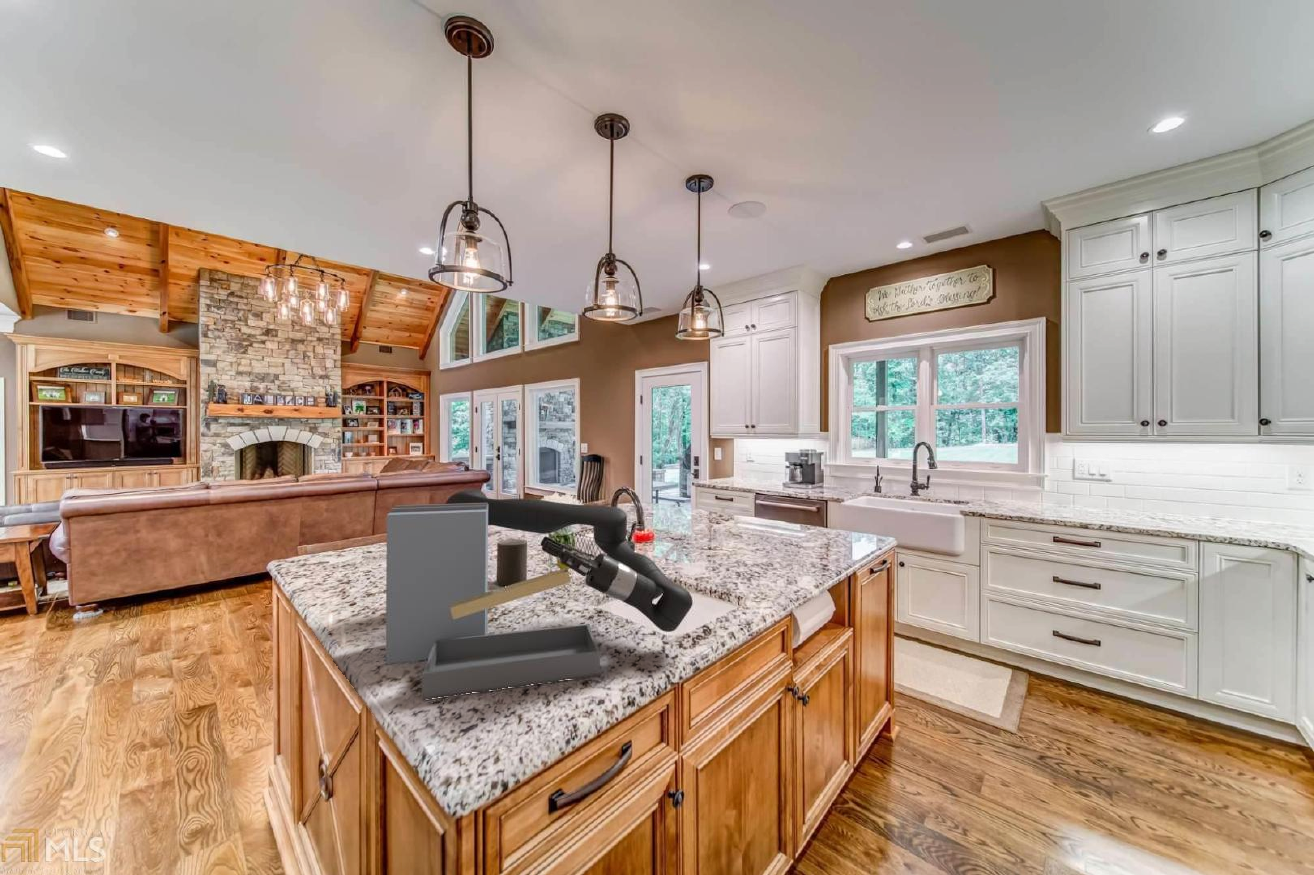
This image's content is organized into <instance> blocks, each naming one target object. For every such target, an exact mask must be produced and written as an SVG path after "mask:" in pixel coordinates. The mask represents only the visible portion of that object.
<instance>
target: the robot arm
mask: <svg viewBox="0 0 1314 875" xmlns="http://www.w3.org/2000/svg"><path fill="white" fill-rule="evenodd" d="M464 503H488V526H495V527H501V528H505V529H509V530H516V531H522V532H527V533H534V534H541V535H543V534H545V535H548V534H552V533H555V532H558V531H560V530H562V529H564V528H567V527H570V526H574V525H581V526H591V527H593V528H592V529H593V540H594V542H595V545H597V547H598V548H599V549H600V550H601V551H602V552H603V553H599V554H597V555H596V556H595V558H594V559H592V557H591V556H590V554H589V553H587V552H586V551H582V550H581V549H579V548H576V547H574V546H572V545H569V544H567V543H565V542H563V541H562V542H558V541H556V540H554V539H552V538H551V537H549V536H544V537H543V538H542V540H541V542H540V546H541V550H542V552H545V553H546V554H548V555H550V556H552V557H554V558H556V559H558V560H559V561H561V563H562V564H563V565H566V566H567V567H569V568H570V570H573V571H575V572H576V573H577V574H579V575H581V576H582V577H585V578H584V579H585V581H584V582H585V584H586V586H588V587H590V588H592V589H595V590H596V591H597V592H600V593H602V594H604V595H606V596H609V597H610V598H611V599H612V598H613V599H615V600H617V601H620V602H623V603H625V604H627V605H629V606H631V607H633V608H635V609H636V610H638V612H640V613H642V615H644V616H645V617H646V618H648V620H649V621H650V622H651V623H652V624H653V625H655V627H656V628H658V629H659V630H660V631H663V632H666V633H669V632H670V633H671V632H674V631H676V630H677V629H678V627H679V626H680V625H681V623H682V622H683V621H684V619H685V617H686V616H687V615H688V613H689V611H690V610H691V609H692V606H693V605H694V604H693V597H692V594H691V593H690V591H688V589H686V588H684V587H683V586H681V585H679V584H677V583H676V582H675V581H673V580H672V579H670V578H669V577H667V576H666V575H665V574H664V573H663V572H662V571H661V569H660V568H659V567H658V565H657V564H656V563H655V562H654V561H653V560H652V559H651V558H650V557H649V556H647V555H645V554H641V553H638V552H636V551H635V552H634V551H633V550H632V549H631V547H630V546H629V544H628V542H627V541H628V540H627V535H628V534H627V532H628V531H627V530H628V529H627V528H628V527H627V526H628V515H627V512H625V511H624V510H623V509H621V508H619V507H616V506H610V505H609V506H608V505H596V504H595V505H594V504H593V505H589V504H585V505H584V504H574V503H566V502H565V503H564V502H557V501H555V502H554V501H549V500H543V499H537V498H504V499H502V498H501V499H499V498H497V499H496V498H489V497H487V495H486V493H484V492H483V491H482V490H481V489H477V488H470V489H465V490H459V491H458V492H455V493H453V494H452V495H450V496H449V497H448V498H447V500H446V502H445V503H444V504H464ZM658 598H659V599H658ZM656 599H658V600H657V602H656V603H653V601H654V600H656Z"/></svg>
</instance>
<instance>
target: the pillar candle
mask: <svg viewBox="0 0 1314 875" xmlns="http://www.w3.org/2000/svg"><path fill="white" fill-rule="evenodd" d="M496 546H497V548H496V552H497V553H496V580H495V583H496V585H497V586H499V587H502V586H509V585H512V584H515V583H519V582H522V581H525V580H528V541H527V540H526V539H522V538H521V539H519V538H516V539H515V538H510V539H501V540H499V541H497V545H496Z"/></svg>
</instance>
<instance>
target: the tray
mask: <svg viewBox="0 0 1314 875" xmlns="http://www.w3.org/2000/svg"><path fill="white" fill-rule="evenodd" d="M594 676H598V677H601V651H600V648H599V645H598V643H597V641H596V639H595V635H594V633H593V631H592V628H591V627H590V624H589V623H586V624H578V625H577V624H576V625H568V626H567V625H565V626H558V627H557V626H556V627H548V628H547V627H546V628H538V629H527V630H521V631H520V630H519V631H510V632H508V631H507V632H501V633H493V634H491V633H489V634H487V635H480V636H471V637H461V638H452V639H442V640H435V641H434V644H433V646H432V649H431V652H430V655H429V657H428V660H427V661H426V663H425V666H424V669H423V671H422V674H421V677H422V678H421V679H422V687H421V688H422V689H421V692H422V695H421V697H422V698H421V700H425V701H427V700H426V699H432V698H438V697H444V696H454V695H461V694H466V693H472V692H483V693H485V692H484V691H489V690H497V689H502V688H508V687H519V688H522V687H521V686H526V685H531V684H538V683H548V682H555V681H559V680H565V679H577V680H584V679H589V677H591V678H595V677H594ZM583 678H584V679H583ZM555 683H556V682H555ZM548 684H549V683H548ZM526 687H527V686H526ZM497 691H498V690H497ZM461 696H462V695H461ZM454 697H455V696H454ZM432 700H433V699H432Z"/></svg>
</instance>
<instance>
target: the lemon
mask: <svg viewBox="0 0 1314 875" xmlns="http://www.w3.org/2000/svg"><path fill="white" fill-rule="evenodd" d="M556 559H557V558H556ZM556 562H557V563H556V564H557V567H558V569H559V570H561V569H564V568H567V569H568V570H571V568H569V567H567V566H566V565H563V564H562V563H561V561H559V560H558V559H557V560H556Z"/></svg>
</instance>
